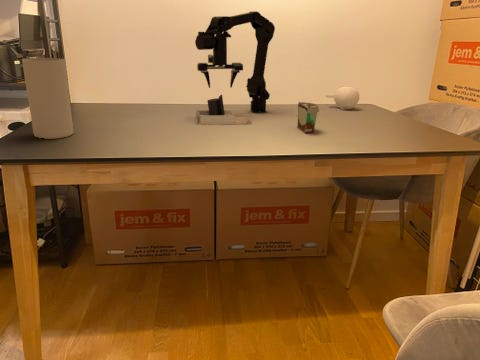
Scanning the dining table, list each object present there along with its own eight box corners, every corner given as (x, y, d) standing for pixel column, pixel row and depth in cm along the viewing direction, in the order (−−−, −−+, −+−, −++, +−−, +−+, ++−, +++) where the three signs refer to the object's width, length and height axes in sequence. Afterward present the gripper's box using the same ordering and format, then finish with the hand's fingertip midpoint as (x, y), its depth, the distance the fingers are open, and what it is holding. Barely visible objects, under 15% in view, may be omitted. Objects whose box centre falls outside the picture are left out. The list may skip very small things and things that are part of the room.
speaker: (229, 119, 166) (227, 94, 162) (223, 122, 161) (220, 96, 158) (214, 118, 169) (211, 94, 166) (207, 121, 165) (204, 96, 161)
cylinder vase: (50, 141, 129) (38, 61, 120) (25, 136, 135) (13, 59, 126) (81, 134, 139) (73, 59, 130) (57, 129, 145) (48, 57, 136)
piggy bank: (359, 113, 198) (338, 110, 210) (366, 90, 196) (345, 88, 209) (342, 107, 191) (321, 105, 204) (349, 83, 190) (328, 82, 202)
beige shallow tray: (247, 117, 173) (247, 109, 172) (252, 124, 161) (252, 115, 160) (196, 118, 170) (196, 110, 168) (197, 124, 158) (197, 115, 157)
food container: (321, 134, 148) (324, 107, 145) (305, 134, 147) (308, 107, 144) (310, 127, 160) (313, 101, 156) (296, 127, 159) (298, 101, 155)
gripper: (238, 48, 173) (238, 84, 178) (195, 48, 170) (196, 85, 175) (243, 49, 163) (243, 88, 168) (197, 49, 160) (198, 89, 165)
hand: (220, 87), depth 170 cm, fingers open, 9 cm apart
